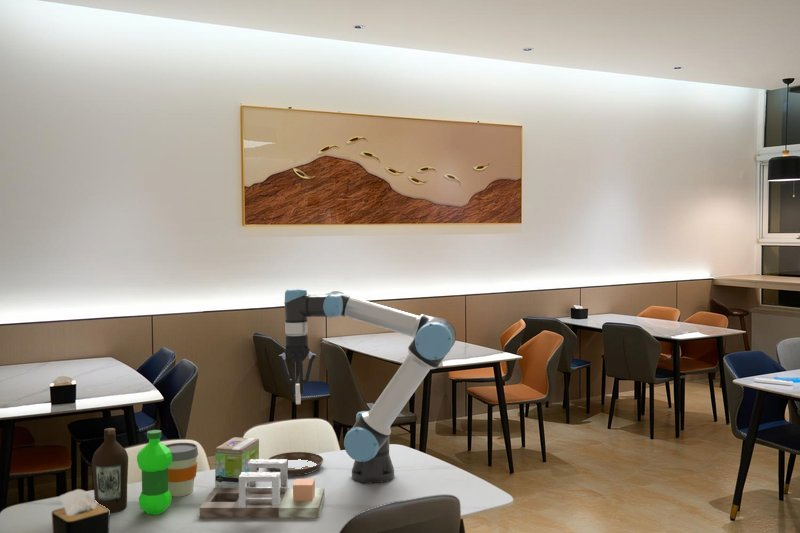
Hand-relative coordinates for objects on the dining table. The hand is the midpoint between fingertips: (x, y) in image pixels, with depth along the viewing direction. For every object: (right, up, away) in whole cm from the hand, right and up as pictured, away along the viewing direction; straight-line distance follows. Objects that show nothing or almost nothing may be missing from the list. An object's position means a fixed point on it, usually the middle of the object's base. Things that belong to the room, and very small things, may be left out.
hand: (298, 403), depth 258 cm
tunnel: (-8, -26, -20) cm, 34 cm away
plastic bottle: (-41, -30, -24) cm, 56 cm away
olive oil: (-56, -29, -21) cm, 67 cm away
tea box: (-21, -29, +1) cm, 35 cm away
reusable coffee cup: (-39, -29, -6) cm, 49 cm away
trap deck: (-8, -29, -20) cm, 36 cm away
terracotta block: (+4, -26, -20) cm, 33 cm away
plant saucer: (-4, -28, +20) cm, 35 cm away
